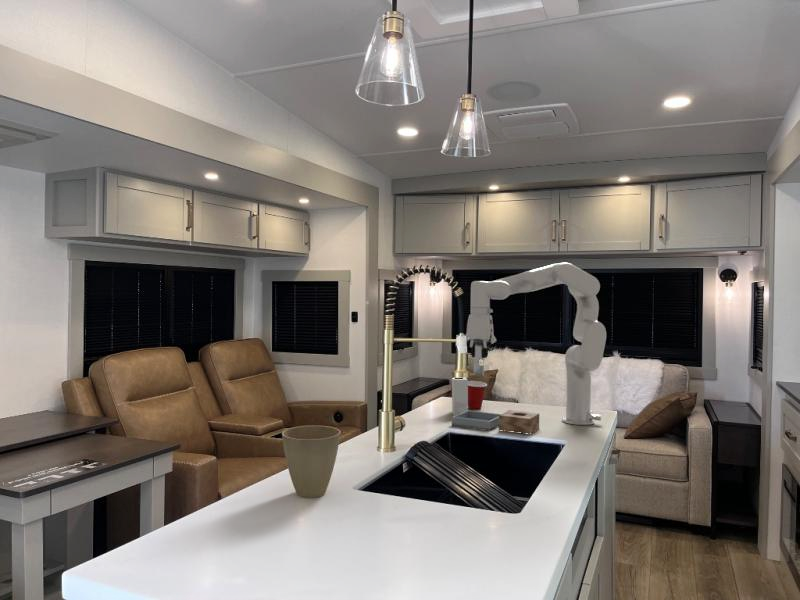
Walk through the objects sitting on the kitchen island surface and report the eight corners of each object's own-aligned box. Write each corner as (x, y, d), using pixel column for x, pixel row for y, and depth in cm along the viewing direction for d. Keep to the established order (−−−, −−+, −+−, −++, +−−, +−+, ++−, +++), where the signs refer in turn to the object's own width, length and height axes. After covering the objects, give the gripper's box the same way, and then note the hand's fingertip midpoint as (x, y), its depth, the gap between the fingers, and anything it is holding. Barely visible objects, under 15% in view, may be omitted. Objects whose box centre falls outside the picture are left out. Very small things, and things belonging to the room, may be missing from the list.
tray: (504, 423, 238) (504, 414, 238) (489, 430, 224) (489, 421, 224) (467, 418, 246) (468, 410, 246) (451, 425, 232) (451, 416, 232)
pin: (486, 375, 236) (487, 338, 236) (482, 376, 232) (482, 339, 232) (475, 374, 238) (476, 338, 238) (471, 375, 234) (471, 338, 234)
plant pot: (276, 487, 156) (277, 427, 155) (331, 481, 161) (332, 423, 161) (286, 506, 142) (287, 440, 142) (346, 499, 147) (347, 436, 147)
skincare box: (468, 416, 252) (468, 379, 251) (452, 415, 252) (453, 379, 252) (466, 412, 260) (466, 377, 260) (451, 411, 260) (451, 376, 260)
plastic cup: (476, 412, 261) (476, 385, 260) (458, 408, 269) (458, 382, 269) (491, 409, 268) (492, 382, 268) (474, 405, 276) (474, 380, 276)
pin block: (539, 428, 229) (539, 413, 229) (529, 434, 219) (529, 418, 219) (509, 425, 235) (509, 410, 235) (499, 430, 225) (499, 415, 225)
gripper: (503, 312, 234) (502, 358, 234) (464, 311, 242) (463, 355, 243) (496, 312, 227) (495, 359, 228) (457, 311, 236) (456, 356, 236)
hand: (479, 357), depth 235 cm, fingers closed on pin, 4 cm apart
